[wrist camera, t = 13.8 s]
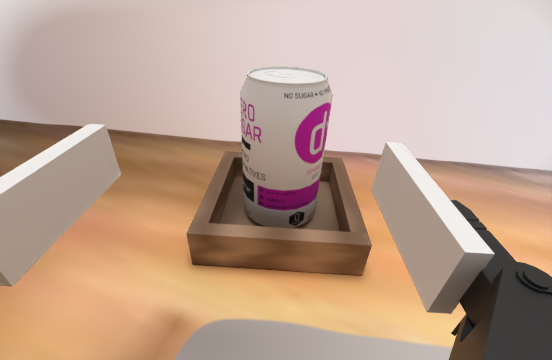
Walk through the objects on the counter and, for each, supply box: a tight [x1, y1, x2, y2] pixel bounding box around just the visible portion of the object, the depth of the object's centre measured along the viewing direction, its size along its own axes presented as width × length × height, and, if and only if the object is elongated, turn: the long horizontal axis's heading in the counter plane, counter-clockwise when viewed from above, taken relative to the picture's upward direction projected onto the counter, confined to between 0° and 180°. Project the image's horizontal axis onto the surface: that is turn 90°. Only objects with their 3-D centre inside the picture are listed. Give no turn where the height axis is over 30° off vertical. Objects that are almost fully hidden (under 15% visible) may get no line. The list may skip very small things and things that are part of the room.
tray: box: [187, 151, 372, 276], centre depth 31 cm, size 16×16×4 cm
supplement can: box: [240, 67, 332, 228], centre depth 27 cm, size 8×8×15 cm
